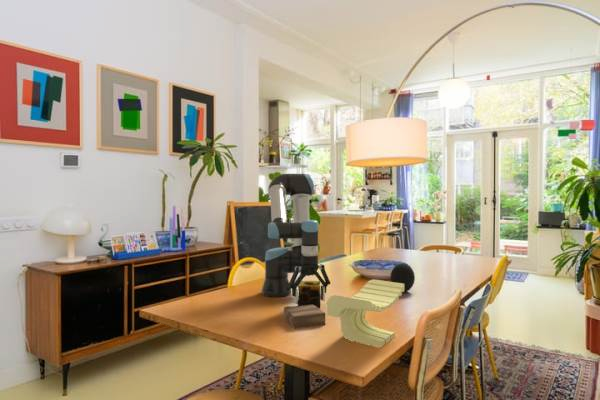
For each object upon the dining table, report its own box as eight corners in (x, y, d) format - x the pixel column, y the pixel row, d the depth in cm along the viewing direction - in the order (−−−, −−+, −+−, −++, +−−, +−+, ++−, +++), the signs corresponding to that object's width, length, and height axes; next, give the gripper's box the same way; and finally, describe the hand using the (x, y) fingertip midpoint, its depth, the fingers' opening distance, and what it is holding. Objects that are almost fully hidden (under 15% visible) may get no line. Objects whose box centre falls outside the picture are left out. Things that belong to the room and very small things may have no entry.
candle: (320, 309, 175) (320, 286, 174) (297, 308, 175) (297, 285, 175) (320, 302, 185) (321, 280, 184) (299, 301, 186) (299, 280, 185)
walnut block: (283, 319, 165) (283, 307, 165) (312, 315, 170) (313, 304, 170) (294, 329, 153) (294, 316, 153) (325, 325, 158) (325, 313, 158)
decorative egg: (390, 288, 218) (390, 261, 217) (413, 289, 215) (413, 261, 215) (390, 294, 205) (390, 265, 205) (415, 295, 203) (415, 266, 203)
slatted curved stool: (366, 322, 161) (366, 278, 161) (404, 330, 152) (404, 283, 151) (326, 345, 137) (327, 293, 136) (369, 356, 127) (369, 301, 127)
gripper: (286, 257, 170) (286, 307, 171) (338, 254, 180) (337, 301, 181) (281, 254, 177) (280, 302, 178) (330, 251, 187) (330, 296, 188)
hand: (309, 301), depth 179 cm, fingers closed on candle, 12 cm apart
